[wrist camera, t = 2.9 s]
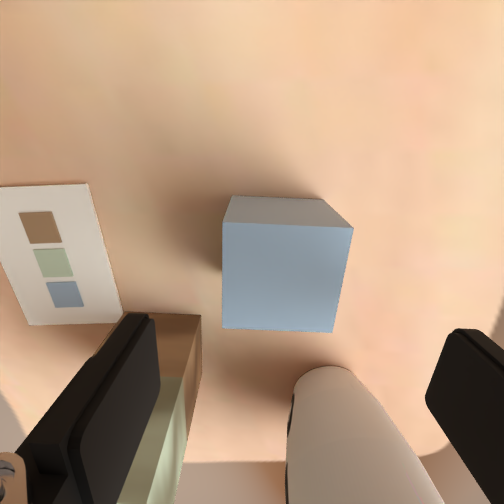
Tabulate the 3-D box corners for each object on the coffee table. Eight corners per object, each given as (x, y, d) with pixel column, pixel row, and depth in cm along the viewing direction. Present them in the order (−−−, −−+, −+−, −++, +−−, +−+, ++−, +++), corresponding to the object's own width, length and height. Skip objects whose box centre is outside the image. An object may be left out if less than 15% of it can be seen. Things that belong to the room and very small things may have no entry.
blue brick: (232, 195, 15) (222, 221, 10) (323, 199, 15) (353, 228, 10) (230, 275, 17) (222, 328, 12) (311, 278, 17) (332, 332, 12)
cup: (255, 373, 20) (257, 576, 11) (361, 333, 18) (467, 529, 9) (299, 436, 23) (330, 639, 14) (394, 406, 21) (501, 612, 12)
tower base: (124, 311, 18) (-11, 498, 9) (200, 315, 18) (146, 504, 9) (133, 368, 20) (31, 568, 11) (202, 371, 20) (159, 573, 11)
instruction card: (-30, 188, 15) (-35, 189, 14) (88, 183, 15) (84, 184, 14) (31, 323, 18) (28, 326, 18) (125, 320, 18) (123, 323, 18)
